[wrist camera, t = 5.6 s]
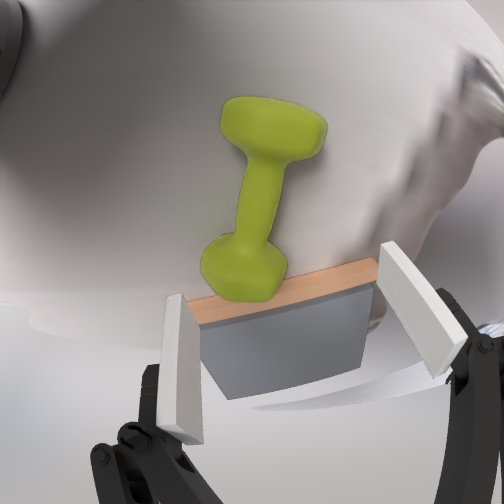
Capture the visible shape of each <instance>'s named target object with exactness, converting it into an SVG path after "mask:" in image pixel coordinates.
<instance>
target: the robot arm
mask: <svg viewBox="0 0 504 504" xmlns="http://www.w3.org/2000/svg"><path fill="white" fill-rule="evenodd" d="M22 29H23V17H22V11H21V7H20V5H19V3H18V1H17V0H0V98H1V96H2V94H3V92H4V90H5V88H6V86H7V84H8V82H9V79H10V77H11V74H12V72H13V69H14V66H15V63H16V60H17V56H18V53H19V48H20V44H21V38H22ZM376 284H377V285H378V287H379V288H380V290H381V291H382V293H383V294H384V296H385V298H386V299H387V301H388V302H389V304H390V305H391V307H392V309H393V310H394V312H395V313H396V315H397V317H398V318H399V320H400V322H401V323H402V325H403V327H404V328H405V330H406V332H407V333H408V335H409V337H410V338H411V340H412V342H413V344H414V345H415V347H416V349H417V350H418V352H419V354H420V356H421V358H422V360H423V361H424V363H425V365H426V367H427V369H428V371H429V373H430V375H431V376H432V378H433V379H434V378H436V377H438V376H440V375H441V374H443V373H445V372H446V371H447V370H448V368H449V367H450V366H451V368H452V369H453V371H452V372H451V374H450V375H449V376H448V378H447V379H446V383H445V384H448V383H449V381H450V380H451V383H450V384H451V396H450V414H449V425H448V435H447V443H446V450H445V456H444V461H443V467H442V472H441V477H440V481H439V486H438V490H437V494H436V498H435V502H434V504H491V499H492V495H493V489H494V485H495V479H496V473H497V466H498V457H499V450H500V460H501V477H502V504H504V336H501V337H496V338H492V337H490V336H489V335H487V334H481V333H480V332H479V331H478V330H477V329H476V327H475V326H474V324H473V323H472V322H471V320H470V319H469V318H468V316H467V315H466V313H465V312H464V311H463V310H462V309H461V307H460V305H459V304H458V303H456V300H455V299H454V298H453V296H452V295H451V294H450V293H449V292H447V291H446V290H444V289H443V288H440V289H437V290H434V289H433V288H432V286H431V285H430V284H429V282H428V281H427V280H426V279H425V278H424V276H423V275H422V274H421V273H420V271H419V270H418V269H417V268H416V267H415V265H414V264H413V263H412V262H411V261H410V259H409V258H408V257H407V256H406V255H405V254H404V252H403V251H402V250H401V249H400V248H399V247H398V246H397V245H396V243H395V242H394V241H390V242H386V243H382V244H381V246H380V257H379V266H378V274H377V282H376ZM141 386H142V388H141V397H140V407H139V419H138V422H129V423H126V424H125V425H123V426H122V427H121V428H120V430H119V432H118V437H117V440H118V444H117V445H113V446H110V445H107V444H105V443H100V444H97V445H95V447H94V448H93V449H92V451H91V454H90V459H91V466H92V471H93V476H94V481H95V486H96V491H97V495H98V499H99V503H100V504H159V502H160V504H223V502H222V501H221V500H220V499H219V498H218V496H217V495H216V494H215V493H214V491H213V490H212V489H211V488H210V486H209V485H208V484H207V482H206V481H205V480H204V479H203V477H202V476H201V475H200V473H199V472H198V471H197V469H196V468H195V466H194V465H193V464H192V462H191V461H190V459H189V458H188V456H187V455H186V453H185V452H184V451H183V450H182V443H184V444H185V445H199V444H200V445H201V444H204V441H203V440H204V439H203V423H202V402H201V369H200V327H199V326H198V324H197V322H196V320H195V318H194V316H193V314H192V312H191V310H190V308H189V306H188V304H187V302H186V300H185V298H184V297H183V295H182V293H180V294H175V295H171V296H167V303H166V311H165V319H164V327H163V336H162V346H161V356H160V364H153V365H148V366H147V367H146V370H145V371H144V373H143V376H142V385H141ZM158 500H159V501H158Z"/></svg>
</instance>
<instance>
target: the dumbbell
mask: <svg viewBox="0 0 504 504" xmlns="http://www.w3.org/2000/svg"><path fill="white" fill-rule="evenodd" d="M220 130H221V133H222V135H223V137H224V138H225V139H227V140H228V141H229V142H231V143H232V144H234V145H235V146H237V147H238V148H240V149H241V150H242V151H243V152H244V153H245V154H246V156H247V160H248V163H247V167H246V171H245V174H244V177H243V181H242V186H241V190H240V194H239V199H238V205H237V212H236V221H235V232H234V233H226V234H223V235H221V236H220V237H218V238H217V239H216V240H214V241H213V242H212V243H211V244H210V245H208V246H207V247H206V249H205V250H204V252H203V254H202V257H201V263H200V271H201V274H202V276H203V278H204V279H205V281H206V282H207V283H208V284H209V286H210V287H211V288H212V289H213V290H214V292H215V293H216V294H217V295H218V296H219V297H221V298H222V299H224V300H227V301H232V302H245V303H261V302H267V301H269V300H270V299H272V298H273V297H274V295H275V294H276V292H277V291H278V289H279V287H280V285H281V284H282V281H283V279H284V276H285V273H286V270H287V259H286V258H285V256H284V255H283V254H282V252H281V251H280V250H279V249H277V248H276V247H275V246H274V245H273V244H272V243H270V242H269V241H268V236H269V234H270V232H271V229H272V226H273V223H274V219H275V216H276V212H277V208H278V204H279V200H280V196H281V191H282V186H283V177H284V172H285V169H286V167H287V165H288V164H289V163H290V162H293V161H299V160H305V159H308V158H311V157H313V156H315V155H316V154H318V153H319V151H320V150H321V149H322V147H323V145H324V142H325V138H326V134H327V130H328V125H327V122H326V120H325V119H324V118H323V117H322V116H321V115H319V114H318V113H316V112H314V111H312V110H310V109H308V108H306V107H304V106H301V105H299V104H295V103H292V102H288V101H284V100H279V99H273V98H267V97H256V96H239V97H235V98H232V99H230V100H228V101H227V102H226V103H225V104H224V106H223V109H222V113H221V119H220Z"/></svg>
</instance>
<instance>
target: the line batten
mask: <svg viewBox="0 0 504 504" xmlns="http://www.w3.org/2000/svg"><path fill="white" fill-rule="evenodd" d="M378 266H379V265H378V264H377V263H376V261H375V260H374V259H373V257H369V258H365V259H362V260H358V261H354V262H351V263H347V264H343V265H339V266H336V267H332V268H328V269H324V270H320V271H317V272H313V273H309V274H305V275H301V276H297V277H293V278H289V279H285V280H283V281H282V284H281V285H280V287H279V289H278V291H277V292H276V294H275V295H274V297H273V298H272V299H270V300H269V301H267V302H261V303H245V302H232V301H227V300H224V299H222V298H221V297H219V296H218V295H216V296H212V297H207V298H202V299H198V300H193V301H188V302H187V304H188V306H189V308H190V310H191V312H192V314H193V316H194V318H195V320H196V322H197V324H198V325H199V324H204V323H209V322H214V321H219V320H223V319H228V318H233V317H238V316H242V315H247V314H251V313H255V312H260V311H264V310H268V309H272V308H277V307H281V306H285V305H289V304H293V303H297V302H301V301H305V300H308V299H312V298H316V297H320V296H323V295H327V294H331V293H334V292H338V291H341V290H345V289H349V288H352V287H355V286H359V285H362V284H366V283H369V282H372V281H375V280H377V274H378Z"/></svg>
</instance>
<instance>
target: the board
mask: <svg viewBox="0 0 504 504" xmlns="http://www.w3.org/2000/svg"><path fill="white" fill-rule="evenodd" d="M373 290H374V287H373V286H372V284H371V283H370V282H369V283H366V284H362V285H359V286H355V287H352V288H349V289H345V290H341V291H338V292H334V293H331V294H327V295H323V296H320V297H316V298H312V299H308V300H305V301H301V302H297V303H293V304H289V305H285V306H281V307H277V308H272V309H268V310H264V311H260V312H255V313H251V314H247V315H242V316H238V317H233V318H228V319H223V320H219V321H214V322H209V323H204V324H199V325H198V326H199V327H200V359H201V361H202V362H203V364H204V365H205V367H206V368H207V370H208V372H209V373H210V375H211V376H212V378H213V379H214V381H215V382H216V384H217V385H218V387H219V388H220V389H221V391H222V392H223V394H224V395H225V397H226V398H227V400H231V399H237V398H243V397H248V396H253V395H259V394H263V393H268V392H273V391H278V390H282V389H287V388H291V387H295V386H299V385H303V384H307V383H311V382H314V381H318V380H322V379H325V378H328V377H332V376H335V375H338V374H342V373H344V372H348V371H351V370H354V369H357V368H360V365H361V361H362V356H363V351H364V346H365V341H366V336H367V330H368V324H369V318H370V311H371V304H372V297H373Z"/></svg>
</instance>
